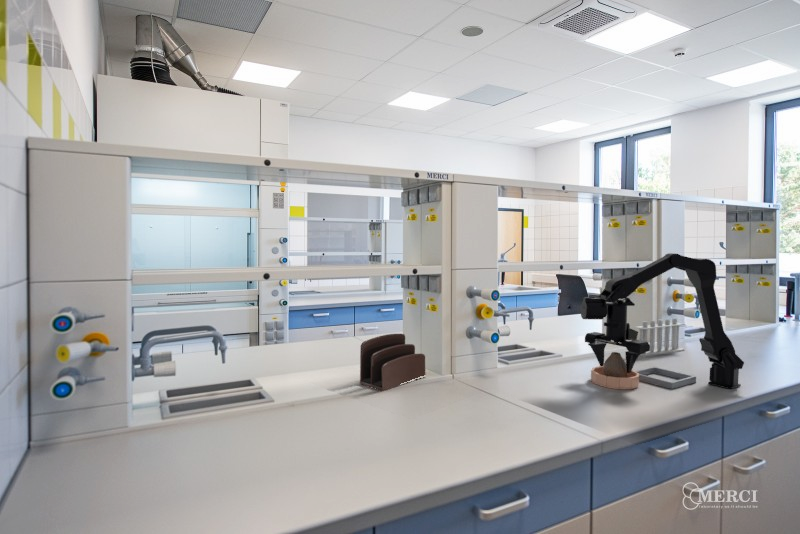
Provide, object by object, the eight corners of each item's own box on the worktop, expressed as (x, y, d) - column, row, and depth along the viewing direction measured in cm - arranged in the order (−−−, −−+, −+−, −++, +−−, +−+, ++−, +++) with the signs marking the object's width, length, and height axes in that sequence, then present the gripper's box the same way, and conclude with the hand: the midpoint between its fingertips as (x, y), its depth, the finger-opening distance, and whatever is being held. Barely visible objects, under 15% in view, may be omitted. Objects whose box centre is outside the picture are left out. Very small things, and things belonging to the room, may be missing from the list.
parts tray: (695, 382, 150) (696, 376, 150) (672, 388, 143) (672, 383, 143) (653, 371, 162) (653, 366, 161) (629, 377, 154) (629, 372, 154)
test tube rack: (642, 357, 183) (644, 322, 182) (632, 354, 187) (633, 321, 186) (684, 350, 194) (685, 318, 193) (674, 348, 198) (675, 317, 197)
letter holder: (359, 384, 146) (359, 339, 145) (403, 372, 160) (403, 330, 159) (382, 392, 139) (382, 344, 138) (426, 378, 153) (426, 334, 153)
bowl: (647, 384, 147) (648, 374, 147) (621, 392, 140) (621, 380, 139) (608, 374, 158) (608, 364, 158) (582, 380, 151) (582, 369, 151)
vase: (597, 378, 151) (598, 351, 150) (615, 376, 153) (615, 349, 153) (614, 385, 144) (615, 356, 144) (632, 382, 147) (633, 354, 146)
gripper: (661, 321, 144) (659, 372, 145) (605, 313, 160) (604, 359, 161) (639, 325, 138) (637, 378, 139) (584, 316, 154) (583, 364, 155)
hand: (615, 369), depth 149 cm, fingers open, 9 cm apart
